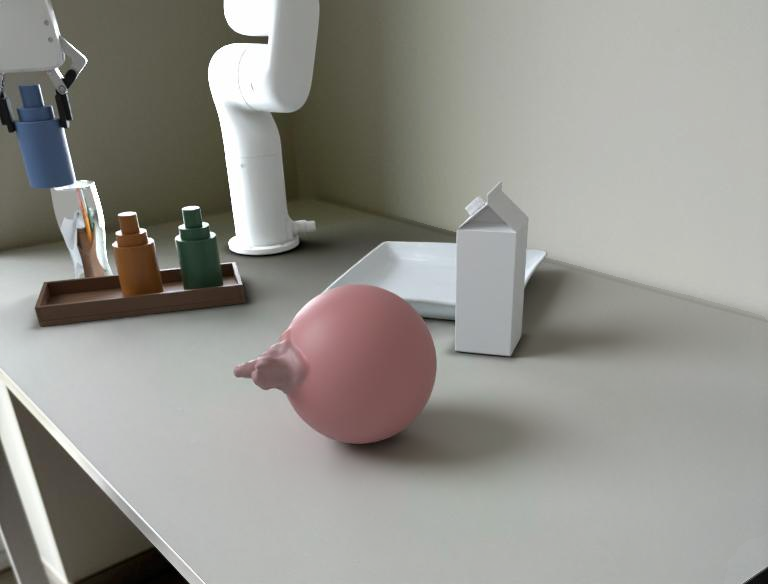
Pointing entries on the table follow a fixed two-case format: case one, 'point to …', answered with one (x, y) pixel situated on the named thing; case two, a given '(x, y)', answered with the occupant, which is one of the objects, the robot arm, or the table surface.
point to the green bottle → (197, 252)
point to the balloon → (352, 364)
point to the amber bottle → (136, 258)
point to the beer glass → (82, 227)
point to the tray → (130, 297)
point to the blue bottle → (42, 141)
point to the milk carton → (490, 275)
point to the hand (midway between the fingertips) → (39, 127)
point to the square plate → (418, 274)
